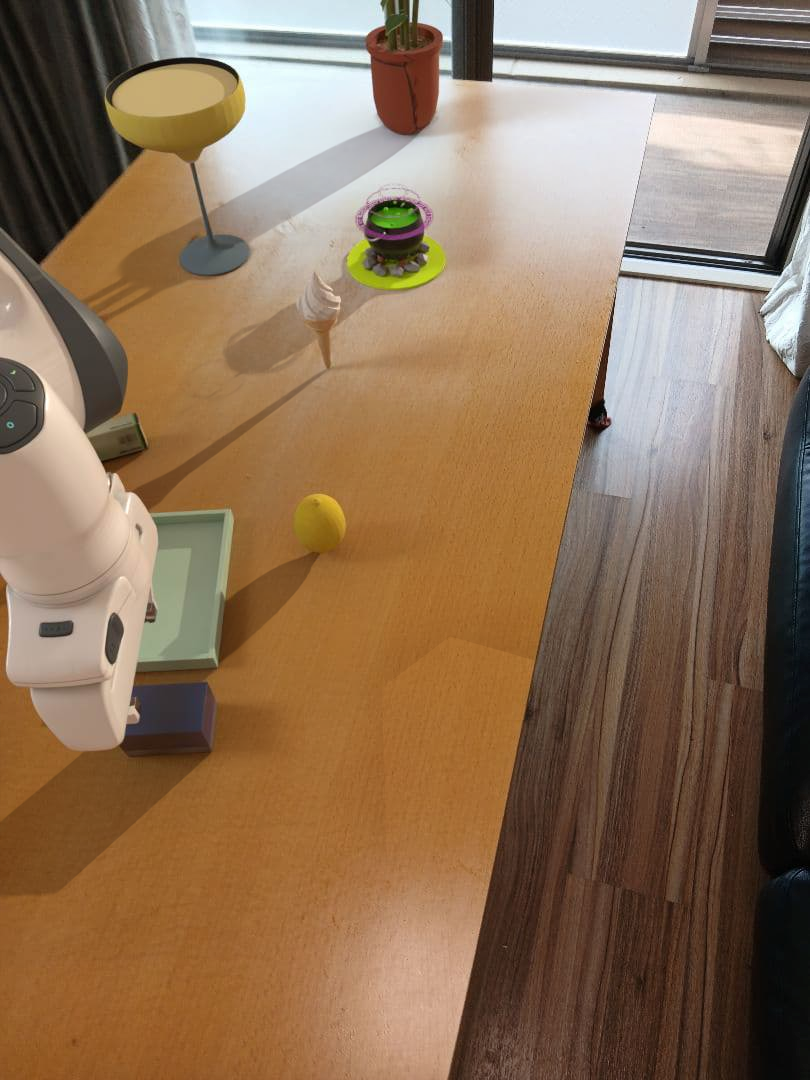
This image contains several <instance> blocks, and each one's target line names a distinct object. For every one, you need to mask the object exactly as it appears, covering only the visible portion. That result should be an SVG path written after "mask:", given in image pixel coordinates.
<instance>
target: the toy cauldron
mask: <svg viewBox="0 0 810 1080" xmlns="http://www.w3.org/2000/svg"><path fill="white" fill-rule="evenodd" d="M390 184H391V183H388V184H385V185H384V187H387V188H385V191H388V190H389V188H388V186H391V185H390ZM393 186H400V183H393ZM384 187H379V189H378V190H377V191H376V192H373V193H372V194H369V196H368V198H367V199H366V201H365V204H364V205H363V207H360V209H359V210H358V211H357V213H356V214H355V217H354V219H355V220H354V223H355V225H356V227H357V228H358V229H359V230H360V231H361V232H362V233H363V237H364V239H362V240H361V241H359V242H358V243H356V244H355V245H354V246H353V247H352V249H351V250H350V251H349V253H348V255H347V260H346V266H347V270H348V272H349V274H350V276H352V277H353V278H354V279H355V280H356V281H357V282H359V283H361V284H363V285H365V286H366V287H367V286H368V287H369V288H374V289H377V290H384V291H402V290H403V291H404V290H411V289H414V288H419V287H421V286H423V285H426V284H428V283H430V282H432V281H433V280H435V279H436V278H437V277H438V276H439V275H440V274H441V273H442V272H443V270H444V268H445V265H446V261H447V260H446V258H447V256H446V253H445V249H443V247H442V246H441V245H440V244H439V243H438V241H436V240H434V239H433V238H431V237H430V236H427V235H425V231H426V230H427V229H428V228H430V227H431V225H432V224H433V222H434V219H435V217H434V211H433V210H432V208H431V207H430V206H429V205H428V204H427V203H425V202H423V201H422V200H421V197H420V196H419V194H418V193H416V192H415V191H413V190H411V189H408V187H407V186H405V185H403V184H402V187H392V188H391V187H390V190H403V191H405V192H404V193H406V195H408V194H409V192H410V193H412V194H413V195H415V196H416V197H417V199H416V198H412V197H408V196H407V197H406V195H402V196H392V195H391V196H383V194H382V191H384ZM375 194H377V195H378V196H379V197H380V198H376V199H375V200H371V201H369V200H370V199H372V197H373V196H374V195H375ZM421 209H422V211H423V212H424V215H425V219H424V218H423V217H422V214H421ZM366 212H367V218H366V221H365V222H364V215H365V214H366ZM423 219H424V220H423Z"/></svg>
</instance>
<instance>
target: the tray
mask: <svg viewBox="0 0 810 1080" xmlns="http://www.w3.org/2000/svg"><path fill="white" fill-rule="evenodd" d="M149 514H150V516H151V517H152V519H153V521H154V523H155V525H156V528H157V533H158V548H157V553H156V559H155V564H154V570H153V576H152V586H153V594H154V599H155V601H156V603H157V605H158V610H157V615H156V620H155V622H153V623H149V622H146V623H144V627H143V632H142V638H141V644H140V649H139V655H138V661H137V666H136V672H135V673H148V672H150V673H151V672H166V671H167V672H169V671H184V670H185V671H186V670H205V669H217V668H219V660H220V649H221V641H222V631H223V624H224V623H223V622H224V615H225V605H226V604H225V603H226V595H227V588H228V578H229V570H230V560H231V551H232V544H233V543H232V541H233V533H234V524H235V518H234V515H233V512H232V509H231V508H223V509H222V508H221V509H205V510H204V509H203V510H202V509H201V510H186V511H167V512H149Z"/></svg>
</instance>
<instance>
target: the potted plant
mask: <svg viewBox="0 0 810 1080" xmlns="http://www.w3.org/2000/svg"><path fill="white" fill-rule="evenodd" d="M410 1H411V0H398V1H397V2H398V13H397V7H396V0H380V3H379V5H380V6H381V12H384V10H385V15H386V20H385V22H384V25H381V26H379V27H376V28H374V29H373V30H371V31H370V32H368V34H366V36H365V40H364V41H365V47H366V48H365V49H366V52H367V53H368V54H369V55H370V58H369V59H370V71H371V72H370V73H371V85H372V86H371V87H372V97H373V102H374V105H375V110H376V115H377V116H378V119H380V121H381V123H382V124H383V126H384V127H385V128H387V129H388V130H389V131H391V132H392V133H395V134H398V135H404V136H405V135H408V136H409V135H414V134H417V133H420V132H422V131H423V130H425V129H426V128H427V127H428V126H429V125H430V123H431V121H432V119H433V118H434V117H435V114H436V113H437V108H438V107H437V106H438V101H439V95H440V51H441V50H442V49H443V45H444V44H443V41H444V35H443V33H442V31H441V30H440V29H438V28H437V27H434V26H433V25H431V24H426V23H421V22H419V7H420V0H412V7H411V2H410ZM445 1H446V2H447V3H448V5H449V6H450V7H452V6H451V4H450V3H449V1H448V0H445ZM410 8H412V10H411V9H410ZM410 10H411V13H410ZM410 15H411V18H410ZM410 21H411V22H410Z"/></svg>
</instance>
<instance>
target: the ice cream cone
mask: <svg viewBox="0 0 810 1080" xmlns="http://www.w3.org/2000/svg"><path fill="white" fill-rule="evenodd" d="M332 292H334V289H333V288H331V286H329V285H328V284H326V283H325V281H324V280H323V279H322V278H321V277H320V276H319V275H318V274H317V272H316V271H315V270H314V271H313V272H312V275H311V277H310V279H309V281H308V282H307V284H306V286H305V287H304V289H303V291H302V292H301V294H300V295H299V297H298V299H297V300H296V302H295V304H296V308H297V312H298V314H299V316H300V317H301V318H302V319H303V320H304V323H305V325H306V327H307V328H309V329H311V330H314V331H315V336H316V339H317V343H318V347H319V349H320V353H321V356H322V359H323V364H324V366H325V368H326V369H327V370H329V369H331V366H332V358H331V357H332V355H331V353H332V349H331V348H332V347H331V343H332V340H331V339H332V338H331V329H332V327H334V326H335V325H336V324H337V323H338V315H339V314H340V312H341V303H342V299H341V296H340V295H336V296H335V295H334V294H333V293H332Z"/></svg>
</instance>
